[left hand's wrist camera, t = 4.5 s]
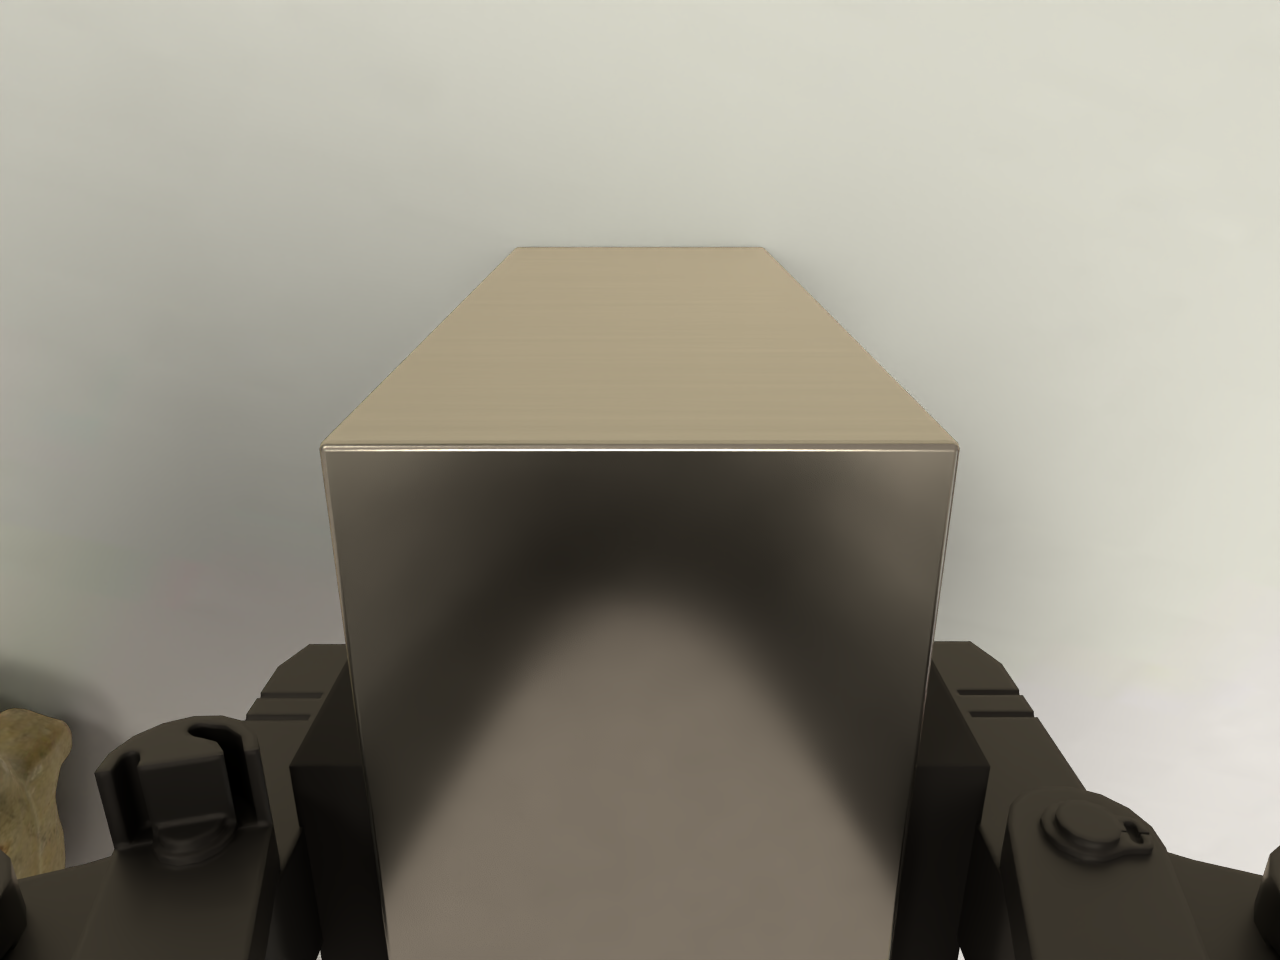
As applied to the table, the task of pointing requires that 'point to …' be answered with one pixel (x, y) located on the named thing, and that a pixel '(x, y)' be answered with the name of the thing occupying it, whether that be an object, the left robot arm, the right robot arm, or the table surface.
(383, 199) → the table surface
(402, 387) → the block
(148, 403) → the table surface
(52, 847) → the sculpture
